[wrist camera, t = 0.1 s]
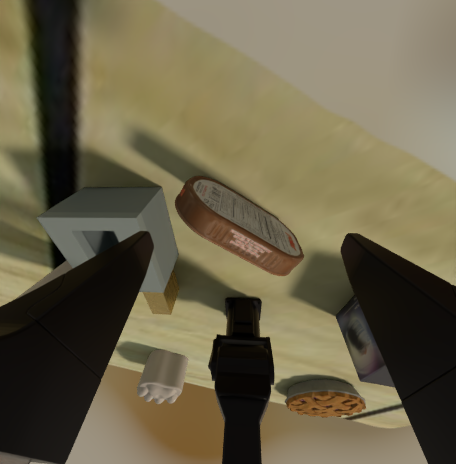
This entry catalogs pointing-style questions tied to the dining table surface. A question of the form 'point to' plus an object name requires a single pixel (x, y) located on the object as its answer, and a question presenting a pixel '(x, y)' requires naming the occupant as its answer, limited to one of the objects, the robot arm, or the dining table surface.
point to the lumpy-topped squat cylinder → (163, 376)
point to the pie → (324, 398)
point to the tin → (238, 225)
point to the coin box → (114, 227)
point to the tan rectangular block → (163, 297)
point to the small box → (362, 345)
